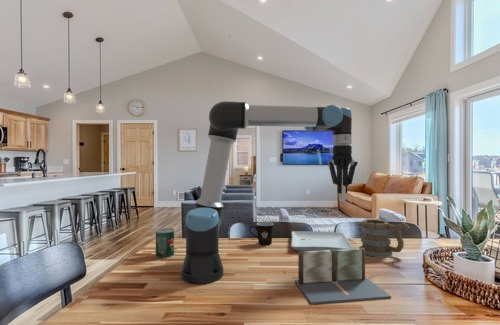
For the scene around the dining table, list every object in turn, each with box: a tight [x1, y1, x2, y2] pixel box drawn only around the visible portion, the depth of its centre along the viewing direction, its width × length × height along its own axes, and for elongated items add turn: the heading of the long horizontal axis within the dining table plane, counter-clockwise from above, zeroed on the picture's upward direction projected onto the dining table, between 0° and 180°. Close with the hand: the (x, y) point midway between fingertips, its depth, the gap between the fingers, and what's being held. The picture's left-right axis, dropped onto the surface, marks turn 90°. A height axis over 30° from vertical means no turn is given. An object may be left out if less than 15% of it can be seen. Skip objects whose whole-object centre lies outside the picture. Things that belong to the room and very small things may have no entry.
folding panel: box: [336, 247, 366, 281], centre depth 94 cm, size 10×2×10 cm, turn 98°
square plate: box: [290, 230, 355, 252], centre depth 135 cm, size 27×27×4 cm
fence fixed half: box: [297, 249, 336, 284], centre depth 92 cm, size 13×2×10 cm, turn 98°
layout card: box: [294, 276, 392, 305], centre depth 88 cm, size 25×15×1 cm, turn 98°
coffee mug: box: [248, 221, 275, 246], centre depth 138 cm, size 12×9×10 cm
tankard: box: [358, 218, 411, 258], centre depth 121 cm, size 20×13×15 cm, turn 44°
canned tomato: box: [155, 227, 175, 259], centre depth 121 cm, size 8×8×11 cm
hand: (342, 201), depth 115 cm, fingers closed
